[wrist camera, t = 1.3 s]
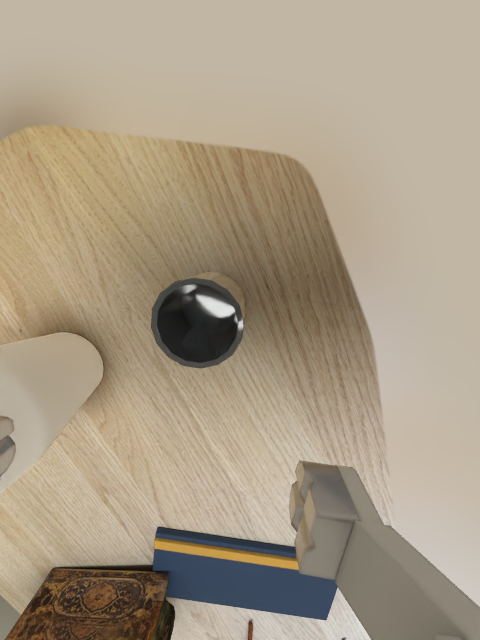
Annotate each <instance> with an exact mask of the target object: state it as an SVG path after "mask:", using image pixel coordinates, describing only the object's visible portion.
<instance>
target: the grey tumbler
mask: <svg viewBox="0 0 480 640" xmlns="http://www.w3.org/2000/svg"><path fill="white" fill-rule="evenodd" d="M244 320H245V300H244V296H243V292H242V290H241V289H240V287H239V286H238V284H237V283H236V282H235V281H234V280H233V279H231V278H230V277H228V276H227V275H225V274H222V273H218V272H211V271H208V272H203V273H200V274H196V275H193V276H190V277H187V278H184V279H182V280H179V281H176V282H174V283H173V284H171V285H170V286H169V287H167V288H166V289H165V290H164V291H162V292H161V293H160V295H159V297H158V299H157V300H156V302H155V304H154V306H153V308H152V318H151V328H152V331H153V334H154V337H155V340H156V343H157V344H158V346H159V347H160V348H161V349H162V350H163V352H164V353H165V354H166V355H167V356H168V357H169V358H171V359H172V360H174V361H176V362H178V363H180V364H181V365H183V366H188V367H195V368H205V367H210V366H215V365H218V364H220V363H221V362H223V361H224V360H226V359H227V358H229V357H230V356H232V355H233V353H234V352H235V350H236V348H237V347H238V345H239V344H240V342H241V340H242V335H243V329H244Z"/></svg>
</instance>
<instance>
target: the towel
mask: <svg viewBox="0 0 480 640" xmlns="http://www.w3.org/2000/svg"><path fill="white" fill-rule="evenodd" d="M154 549H155V550H154V561H153V572H158V573H165V574H166V575H167V576H168V589H167V595H166V597H172V598H179V599H186V600H192V601H199V602H206V603H213V604H219V605H226V606H233V607H240V608H246V609H253V610H260V611H267V612H273V613H280V614H287V615H294V616H300V617H307V618H314V619H321V620H327V617H328V614H329V611H330V608H331V605H332V602H333V599H334V596H335V593H336V590H337V587H338V586H337V585H336V583H335V580H332V579H326V578H321V577H315V576H310V575H304V574H300V573H299V567H298V561H297V555H296V549H295V548H294V547H287V546H281V545H274V544H267V543H261V542H254V541H247V540H241V539H234V538H227V537H220V536H214V535H207V534H200V533H194V532H187V531H180V530H174V529H167V528H160V527H158V529H157V532H156V538H155V540H154Z"/></svg>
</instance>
